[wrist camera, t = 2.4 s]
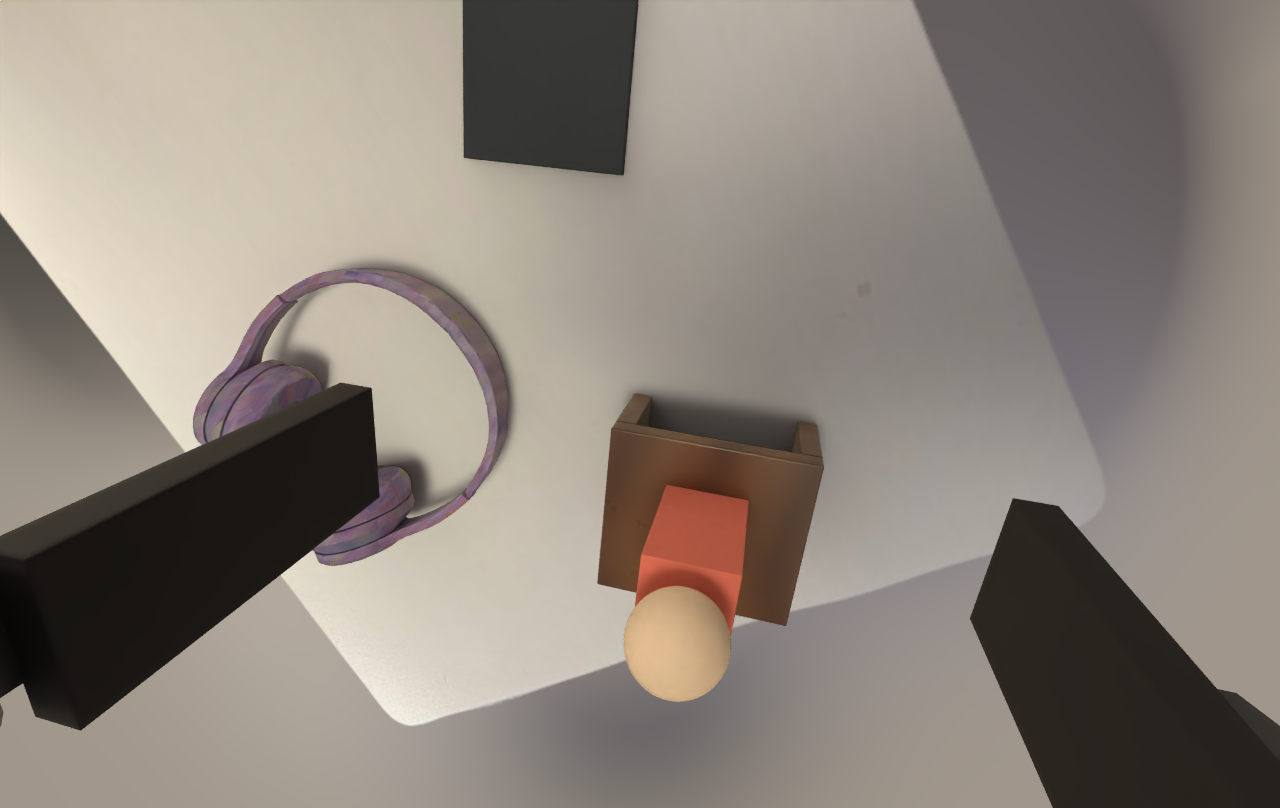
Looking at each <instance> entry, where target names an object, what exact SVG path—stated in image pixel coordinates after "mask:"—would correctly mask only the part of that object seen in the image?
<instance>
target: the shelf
mask: <svg viewBox="0 0 1280 808" xmlns="http://www.w3.org/2000/svg"><path fill="white" fill-rule="evenodd" d="M651 399H652V397H651V396H645V395H639V394H634V396H633V397H632V399H631V400H630V402H629V403H628V404H627V406H626V407H625V409H624V410H623V412H622V413H621V415H620V416H619V418H618V419H617V421H616V423H615V424H614V426H613V427H612V429H611V438H610V449H609V460H608V471H607V482H606V493H605V504H604V515H603V526H602V537H601V548H600V559H599V570H598V581H597V583H598V584H600V585H605V586H609V587H614V588H618V589H623V590H627V591H631V592H636V593H637V585H638V577H639V569H640V560H641V554H642V551H643V548H644V546H645V543H646V540H647V537H648V535H649V532H650V529H651V526H652V524H653V521H654V518H655V515H656V513H657V510H658V507H659V504H660V502H661V499H662V496H663V493H664V491H665V488H666V485H671V486H676V487H681V488H686V489H692V490H697V491H702V492H707V493H712V494H718V495H723V496H728V497H733V498H738V499H743V500H748V501H749V506H748V518H747V529H746V541H745V553H744V564H743V576H742V581H741V586H740V591H739V596H738V601H737V607H736V612H735V615H739V616H743V617H748V618H752V619H757V620H761V621H766V622H770V623H775V624H779V625H783V626H786V624H787V620H788V616H789V612H790V608H791V603H792V599H793V595H794V591H795V587H796V583H797V578H798V574H799V570H800V566H801V562H802V557H803V553H804V549H805V545H806V541H807V536H808V532H809V528H810V524H811V520H812V515H813V511H814V507H815V503H816V499H817V494H818V490H819V486H820V482H821V478H822V473H823V469H824V465H823V459H822V458H823V457H822V451H821V445H820V440H819V434H818V428H817V425H816V424H810V423H804V422H798V425H797V430H796V434H795V439H794V444H793V448H792V452H786V451H781V450H775V449H770V448H764V447H758V446H753V445H747V444H741V443H736V442H730V441H725V440H719V439H713V438H708V437H702V436H697V435H691V434H685V433H680V432H674V431H669V430H663V429H657V428H652V427H648V425H649V416H650V407H651Z"/></svg>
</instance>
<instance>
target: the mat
mask: <svg viewBox="0 0 1280 808" xmlns="http://www.w3.org/2000/svg"><path fill="white" fill-rule="evenodd" d="M637 9H638V0H463V113H464V158H470V159H479V160H488V161H497V162H506V163H515V164H524V165H533V166H542V167H552V168H561V169H570V170H579V171H588V172H597V173H606V174H615V175H623V174H624V163H625V151H626V139H627V127H628V116H629V104H630V92H631V80H632V68H633V56H634V45H635V33H636V21H637Z"/></svg>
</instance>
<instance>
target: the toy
mask: <svg viewBox="0 0 1280 808" xmlns="http://www.w3.org/2000/svg"><path fill="white" fill-rule="evenodd" d="M748 506H749V501H748V500H743V499H738V498H733V497H728V496H723V495H718V494H712V493H707V492H702V491H697V490H692V489H686V488H681V487H676V486H671V485H666V488H665V491H664V493H663V496H662V499H661V502H660V504H659V507H658V510H657V513H656V515H655V518H654V521H653V524H652V526H651V529H650V532H649V535H648V537H647V540H646V543H645V546H644V548H643V551H642V554H641V560H640V569H639V577H638V585H637V594H636V602H635V608H634V609H633V611H632V613H631V614H630V617H629V619H628V621H627V624H626V628H625V633H624V652H625V657H626V661H627V664H628V666H629V669H630V671H631V672H632V674H633V676H634V677H635V679H636V680H637V681H638V682H639V684H640V685H641V686H642V687H643V688H644V689H646V690H647V691H648V692H650V693H651V694H653V695H655V696H657V697H659V698H662V699H665V700H669V701H688V700H692V699H695V698H698V697H700V696H702V695H704V694H706V693H707V692H709V691H710V690H711V689H712V688H713V687H714V686H715V685H716V684H717V683H718V682H719V681H720V679H721V678H722V676H723V675H724V673H725V671H726V668H727V665H728V663H729V659H730V653H731V632H732V627H733V622H734V617H735V612H736V607H737V601H738V596H739V591H740V586H741V581H742V576H743V564H744V553H745V541H746V529H747V518H748Z"/></svg>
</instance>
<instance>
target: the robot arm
mask: <svg viewBox="0 0 1280 808" xmlns="http://www.w3.org/2000/svg"><path fill="white" fill-rule="evenodd" d="M379 497H380V492H379V479H378V466H377V453H376V440H375V427H374V414H373V400H372V388H369V387H363V386H357V385H351V384H345V383H339V384H337V385H335V386H332V387H330V388H328V389H326V390H323V391H321V392H319V393H317V394H315V395H312V396H310V397H308V398H306V399H303V400H301V401H299V402H297V403H295V404H292V405H290V406H288V407H286V408H283V409H281V410H279V411H277V412H275V413H272V414H270V415H268V416H266V417H263V418H261V419H259V420H257V421H255V422H252V423H250V424H248V425H246V426H243V427H241V428H239V429H237V430H235V431H232V432H230V433H228V434H226V435H223V436H221V437H219V438H217V439H215V440H212V441H210V442H208V443H206V444H203V445H201V446H199V447H197V448H195V449H192V450H190V451H188V452H186V453H184V454H181V455H179V456H177V457H175V458H172V459H170V460H168V461H166V462H164V463H161V464H159V465H157V466H155V467H152V468H150V469H148V470H146V471H144V472H141V473H139V474H137V475H135V476H132V477H130V478H128V479H126V480H123V481H121V482H119V483H117V484H115V485H112V486H110V487H108V488H106V489H104V490H102V491H99V492H97V493H95V494H92V495H90V496H88V497H86V498H83V499H81V500H79V501H77V502H75V503H72V504H70V505H68V506H66V507H63V508H61V509H59V510H57V511H55V512H52V513H50V514H48V515H46V516H43V517H41V518H39V519H37V520H35V521H33V522H30V523H28V524H26V525H24V526H21V527H19V528H17V529H15V530H12V531H10V532H8V533H6V534H3V535H2V536H0V698H1V697H2V696H4V695H5V694H7V693H8V692H10V691H12V690H13V689H14V688H16V687H18V686H19V685H21V684H22V683H23V684H24V687H25V689H26V692H27V695H28V698H29V700H30V703H31V706H32V709H33V711H34V714H35V716H36V717H39V718H42V719H45V720H48V721H51V722H55V723H58V724H61V725H64V726H68V727H71V728H74V729H78V730H82V729H83V728H85V727H86V726H87V725H88V724H90V723H91V722H92V721H94V720H95V719H96V718H97V717H99V716H100V715H101V714H103V713H104V712H105V711H106V710H108V709H109V708H110V707H112V706H113V705H114V704H115V703H117V702H118V701H119V700H121V699H122V698H123V697H124V696H126V695H127V694H128V693H129V692H131V691H132V690H133V689H135V688H136V687H137V686H138V685H140V684H141V683H142V682H144V681H145V680H146V679H147V678H149V677H150V676H151V675H153V674H154V673H155V672H156V671H158V670H159V669H160V668H162V667H163V666H164V665H165V664H167V663H168V662H169V661H170V660H172V659H173V658H174V657H176V656H177V655H178V654H180V653H181V652H182V651H183V650H185V649H186V648H187V647H188V646H190V645H191V644H192V643H194V642H195V641H196V640H197V639H199V638H200V637H201V636H203V635H204V634H205V633H206V632H207V631H209V630H210V629H212V628H213V627H214V626H215V625H217V624H218V623H219V622H220V621H222V620H223V619H224V618H225V617H227V616H228V615H229V614H231V613H232V612H233V611H235V610H236V609H237V608H238V607H240V606H241V605H242V604H244V603H245V602H246V601H247V600H249V599H250V598H251V597H252V596H254V595H255V594H256V593H258V592H259V591H260V590H262V589H263V588H264V587H265V586H267V585H268V584H269V583H271V582H272V581H273V580H274V579H276V578H277V577H278V576H279V575H281V574H282V573H283V572H285V571H286V570H287V569H288V568H290V567H291V566H292V565H294V564H295V563H296V562H297V561H299V560H300V559H301V558H303V557H304V556H305V555H306V554H308V553H309V552H310V551H312V550H313V549H314V548H315V547H317V546H318V545H319V544H321V543H322V542H323V541H324V540H326V539H327V538H328V537H329V536H331V535H332V534H333V533H335V532H336V531H337V530H338V529H340V528H341V527H342V526H344V525H345V524H346V523H347V522H349V521H350V520H351V519H353V518H354V517H355V516H356V515H358V514H359V513H360V512H362V511H363V510H364V509H365V508H367V507H368V506H369V505H371V504H372V503H373V502H374V501H376V500H377V499H378V498H379ZM970 620H971V622H972V624H973V626H974V629H975V631H976V633H977V636H978V638H979V640H980V643H981V645H982V647H983V649H984V652H985V654H986V656H987V658H988V661H989V663H990V665H991V668H992V670H993V672H994V674H995V677H996V679H997V681H998V684H999V686H1000V688H1001V690H1002V693H1003V695H1004V697H1005V700H1006V702H1007V704H1008V706H1009V709H1010V711H1011V713H1012V716H1013V718H1014V720H1015V722H1016V725H1017V727H1018V729H1019V732H1020V734H1021V736H1022V738H1023V741H1024V743H1025V745H1026V747H1027V750H1028V752H1029V754H1030V757H1031V759H1032V761H1033V763H1034V766H1035V768H1036V770H1037V773H1038V775H1039V777H1040V779H1041V782H1042V784H1043V786H1044V788H1045V791H1046V793H1047V796H1048V798H1049V800H1050V802H1051V805H1052V806H1053V808H1280V726H1279V725H1278V724H1276V723H1275V722H1274V721H1273V720H1271V719H1270V718H1269V717H1267V716H1266V715H1265V714H1263V713H1262V712H1260V711H1259V710H1258V709H1257V708H1255V707H1254V706H1253V705H1251V704H1250V703H1249V702H1247V701H1246V700H1245V699H1243V698H1242V697H1241V696H1239V695H1238V694H1237V693H1233V692H1229V691H1224V690H1219V689H1217V688H1216V687H1215V686H1214V685H1213V684H1212V683H1211V681H1210V680H1209V679H1208V678H1207V677H1206V676H1205V675H1204V673H1203V672H1202V671H1201V670H1200V669H1199V668H1198V667H1197V665H1196V664H1195V663H1194V662H1193V661H1192V660H1191V658H1190V657H1189V656H1188V655H1187V654H1186V653H1185V651H1184V650H1183V649H1182V648H1181V647H1180V646H1179V645H1178V643H1177V642H1176V641H1175V640H1174V639H1173V638H1172V636H1171V635H1170V634H1169V633H1168V632H1167V631H1166V630H1165V629H1164V627H1163V626H1162V625H1161V624H1160V623H1159V621H1158V620H1157V619H1156V618H1155V617H1154V616H1153V615H1152V613H1151V612H1150V611H1149V610H1148V609H1147V608H1146V606H1145V605H1144V604H1143V603H1142V602H1141V601H1140V600H1139V598H1138V597H1137V596H1136V595H1135V594H1134V593H1133V591H1132V590H1131V589H1130V588H1129V587H1128V586H1127V585H1126V583H1125V582H1124V581H1123V580H1122V579H1121V578H1120V576H1119V575H1118V574H1117V573H1116V572H1115V571H1114V570H1113V568H1112V567H1111V566H1110V565H1109V564H1108V563H1107V562H1106V560H1105V559H1104V558H1103V557H1102V556H1101V555H1100V553H1099V552H1098V551H1097V550H1096V549H1095V548H1094V547H1093V545H1092V544H1091V543H1090V542H1089V541H1088V540H1087V538H1086V537H1085V536H1084V535H1083V534H1082V533H1081V531H1080V530H1079V529H1078V528H1077V527H1076V526H1075V525H1074V523H1073V522H1072V521H1071V520H1070V519H1069V518H1068V516H1067V515H1066V514H1065V513H1064V512H1063V511H1062V510H1061V508H1060V507H1059V506H1055V505H1049V504H1044V503H1038V502H1032V501H1026V500H1020V499H1014V498H1013V500H1012V502H1011V505H1010V508H1009V511H1008V514H1007V516H1006V519H1005V522H1004V525H1003V528H1002V530H1001V533H1000V536H999V539H998V542H997V544H996V547H995V550H994V553H993V556H992V558H991V561H990V564H989V567H988V569H987V572H986V575H985V578H984V581H983V584H982V586H981V589H980V592H979V595H978V597H977V600H976V603H975V606H974V609H973V612H972V614H971V617H970ZM2 716H3V710H2V707H1V705H0V726H1V723H2Z"/></svg>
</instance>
